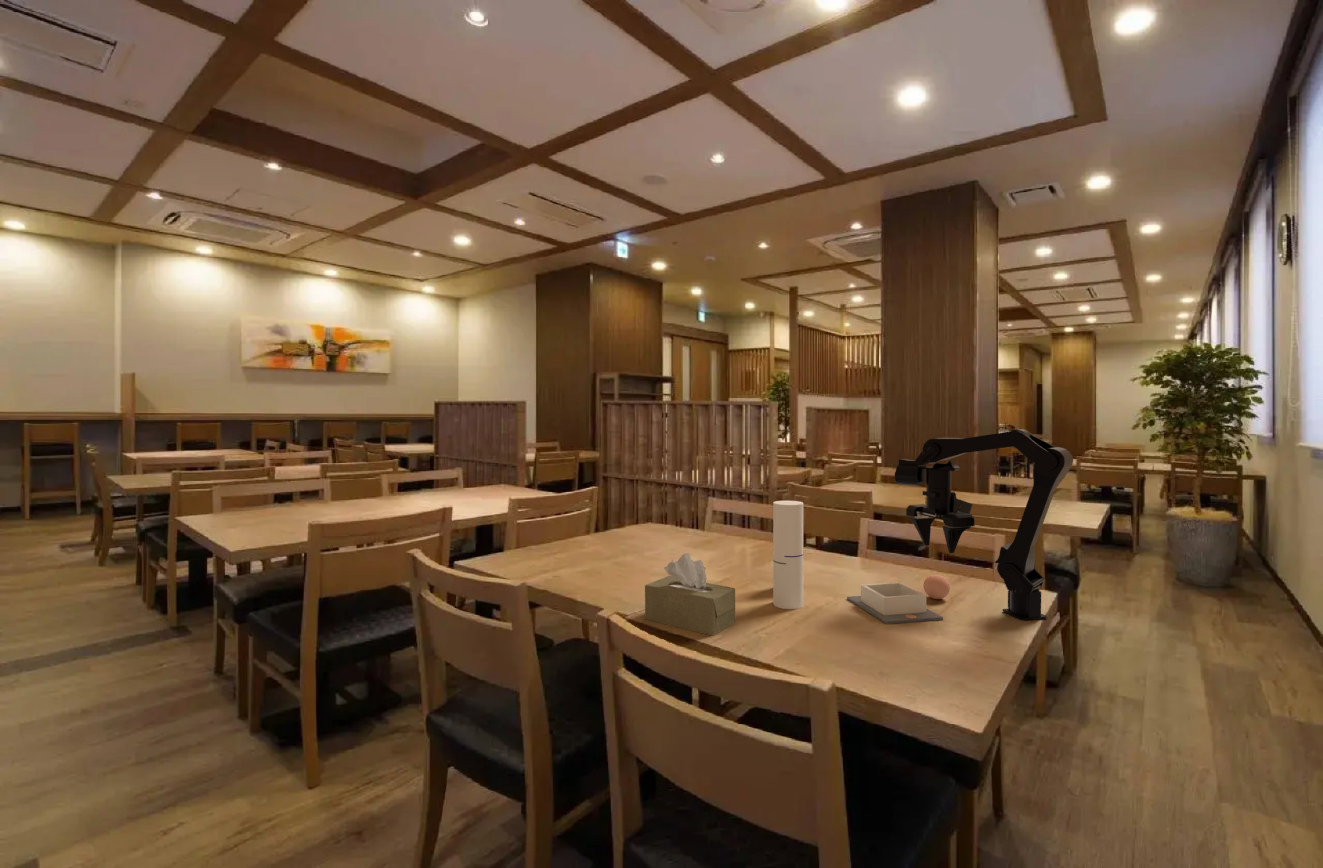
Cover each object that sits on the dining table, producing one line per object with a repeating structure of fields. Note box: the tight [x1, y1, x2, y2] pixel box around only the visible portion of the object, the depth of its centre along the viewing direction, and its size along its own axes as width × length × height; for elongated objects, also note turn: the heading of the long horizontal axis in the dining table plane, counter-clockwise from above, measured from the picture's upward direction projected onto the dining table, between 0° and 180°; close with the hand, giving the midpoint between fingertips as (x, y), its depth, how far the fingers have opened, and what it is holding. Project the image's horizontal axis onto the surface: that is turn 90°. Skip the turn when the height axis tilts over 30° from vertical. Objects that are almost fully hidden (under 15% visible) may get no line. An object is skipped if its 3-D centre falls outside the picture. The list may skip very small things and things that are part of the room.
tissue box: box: [644, 552, 736, 637], centre depth 136 cm, size 19×10×16 cm, turn 54°
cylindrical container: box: [772, 500, 804, 610], centre depth 147 cm, size 7×7×25 cm
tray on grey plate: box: [846, 581, 944, 625], centre depth 144 cm, size 18×14×5 cm
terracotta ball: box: [922, 574, 951, 600], centre depth 151 cm, size 6×6×6 cm
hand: (938, 549), depth 153 cm, fingers open, 9 cm apart
